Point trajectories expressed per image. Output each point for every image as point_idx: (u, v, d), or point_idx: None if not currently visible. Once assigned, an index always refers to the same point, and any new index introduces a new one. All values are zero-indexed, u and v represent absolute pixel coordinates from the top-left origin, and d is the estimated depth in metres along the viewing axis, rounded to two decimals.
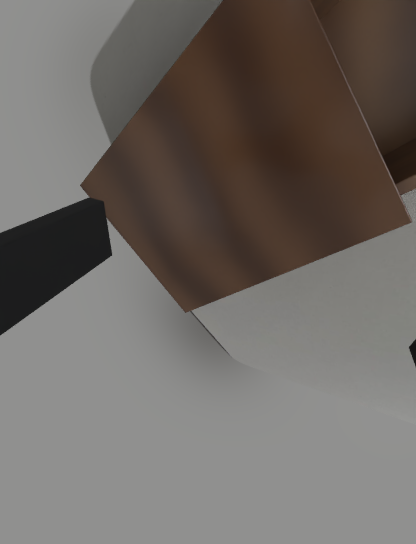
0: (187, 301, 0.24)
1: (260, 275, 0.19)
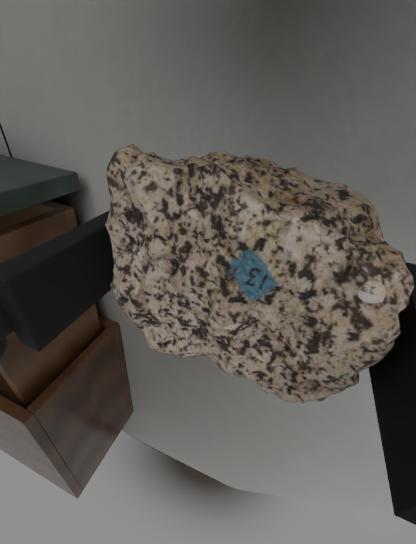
0: (68, 491, 0.28)
1: (52, 467, 0.23)
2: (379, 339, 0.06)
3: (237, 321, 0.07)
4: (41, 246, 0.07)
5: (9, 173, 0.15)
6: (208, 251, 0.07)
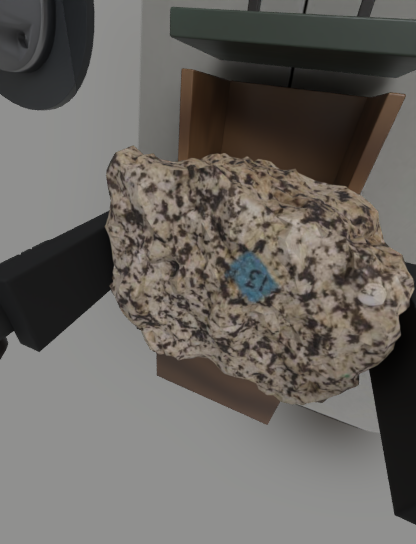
0: (261, 416, 0.28)
1: None
2: (379, 341, 0.06)
3: (236, 322, 0.07)
4: (41, 246, 0.07)
5: None
6: (208, 253, 0.07)
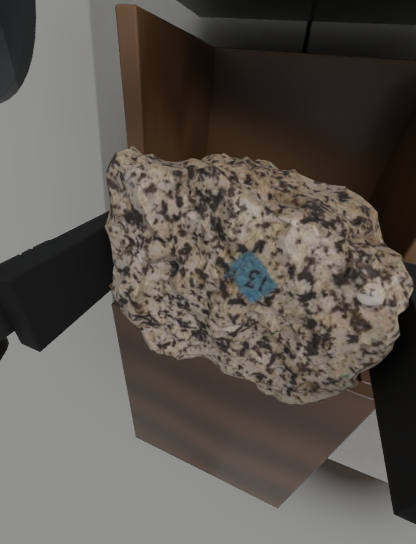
0: (270, 499, 0.22)
1: (302, 469, 0.17)
2: (378, 341, 0.06)
3: (236, 322, 0.07)
4: (42, 246, 0.07)
5: None
6: (208, 253, 0.07)
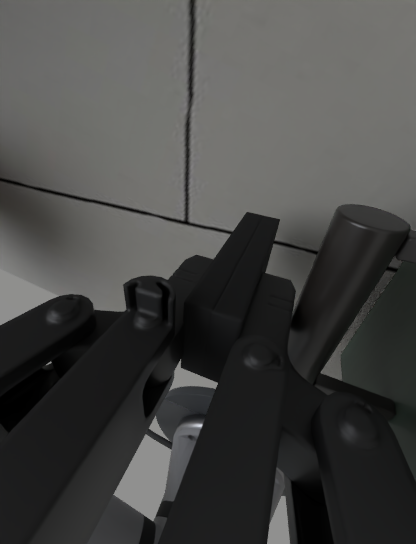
0: None
1: None
2: None
3: None
4: (210, 269, 0.07)
5: None
6: None
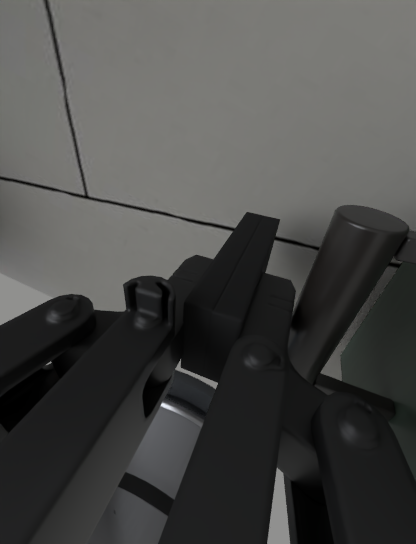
0: None
1: None
2: None
3: None
4: (209, 269, 0.07)
5: None
6: None
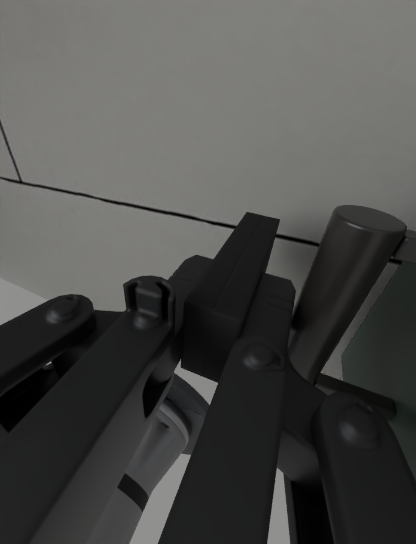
0: None
1: None
2: None
3: None
4: (209, 269, 0.07)
5: None
6: None
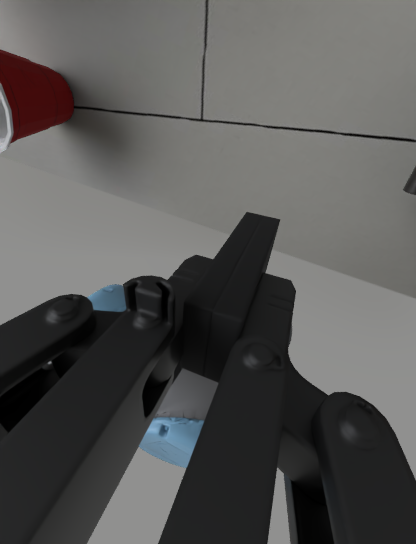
0: None
1: None
2: None
3: None
4: (209, 269, 0.07)
5: None
6: None
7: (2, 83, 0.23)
